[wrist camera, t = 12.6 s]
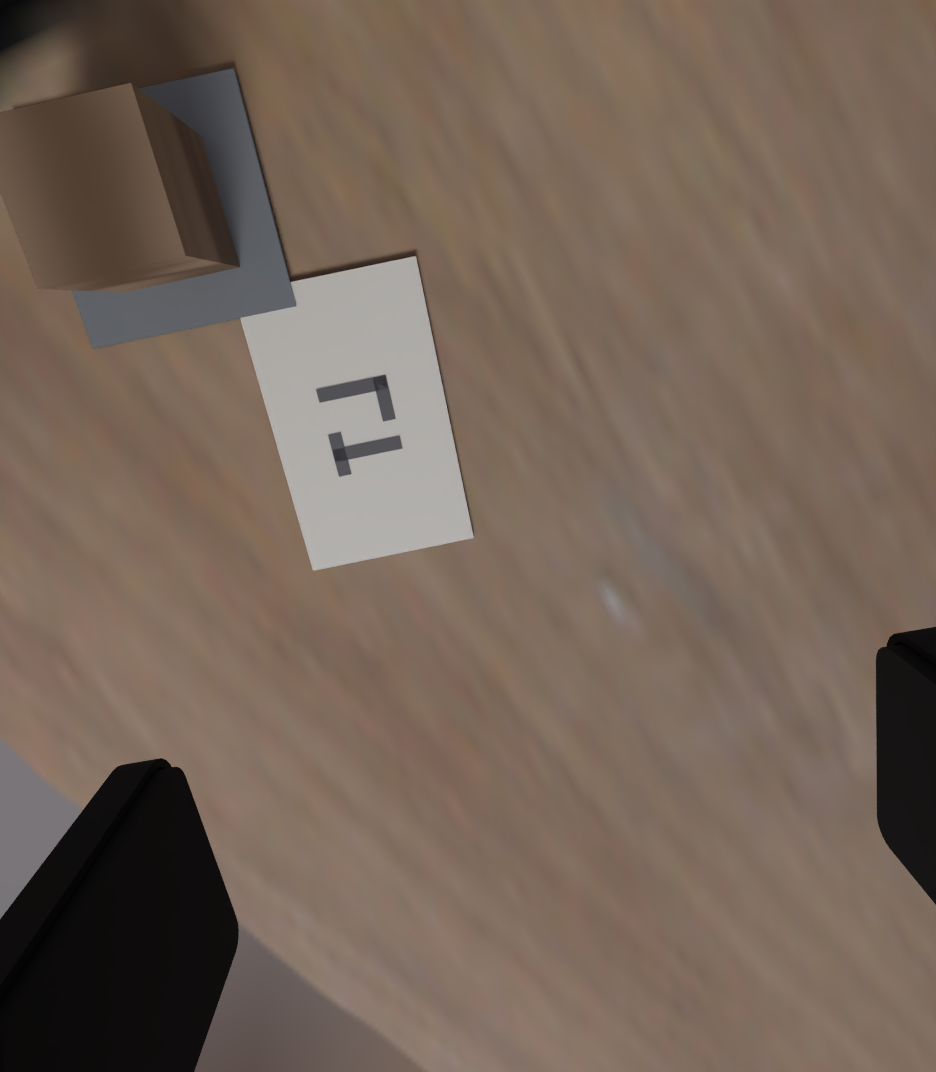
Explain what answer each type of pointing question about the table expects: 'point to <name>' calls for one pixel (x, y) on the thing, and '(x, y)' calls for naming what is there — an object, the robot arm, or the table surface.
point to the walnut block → (111, 193)
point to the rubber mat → (249, 216)
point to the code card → (361, 414)
